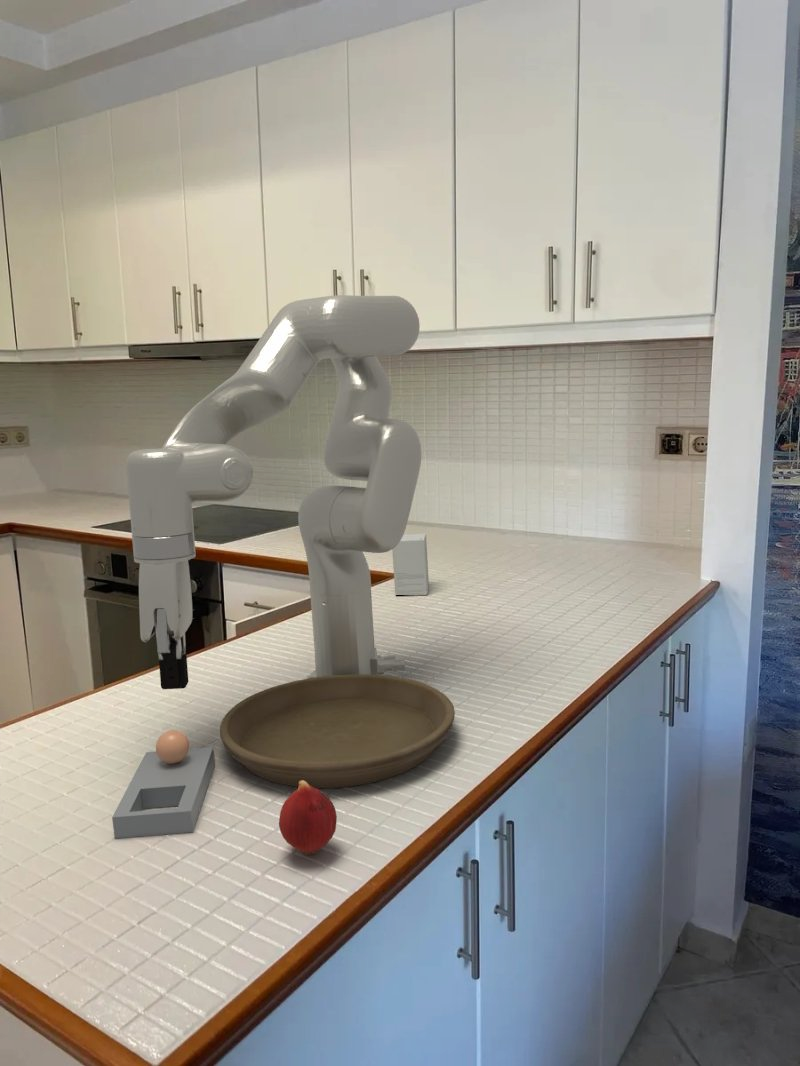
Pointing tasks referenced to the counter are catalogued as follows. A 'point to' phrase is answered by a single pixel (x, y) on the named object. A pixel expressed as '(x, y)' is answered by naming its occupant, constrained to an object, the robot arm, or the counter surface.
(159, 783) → the block
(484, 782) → the counter surface
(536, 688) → the counter surface
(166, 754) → the ball
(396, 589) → the supplement box
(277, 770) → the plant saucer
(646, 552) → the counter surface
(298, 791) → the onion
